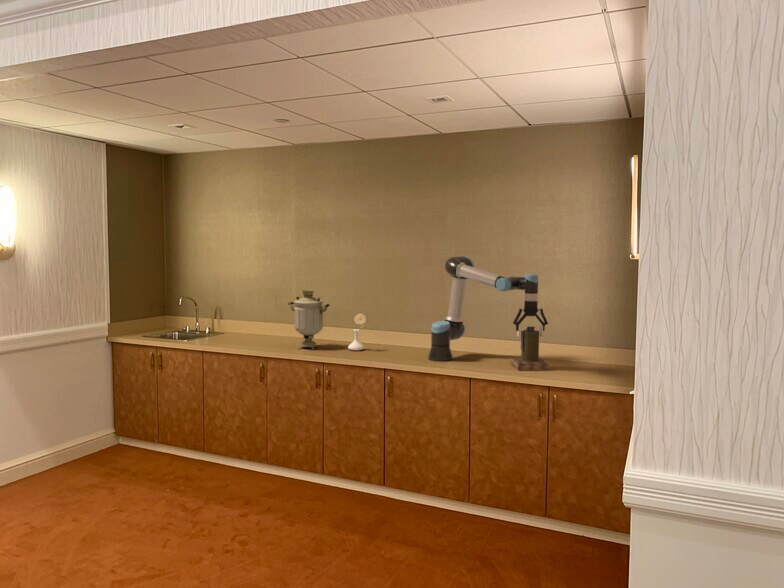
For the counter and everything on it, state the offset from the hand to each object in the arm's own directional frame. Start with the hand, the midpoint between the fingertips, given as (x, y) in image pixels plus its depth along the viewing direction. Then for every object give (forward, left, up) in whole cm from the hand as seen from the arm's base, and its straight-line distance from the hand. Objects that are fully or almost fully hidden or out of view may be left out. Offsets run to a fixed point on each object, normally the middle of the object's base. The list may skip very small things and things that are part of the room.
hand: (530, 336), depth 355 cm
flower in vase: (-103, +57, -19) cm, 119 cm away
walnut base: (0, 0, -18) cm, 18 cm away
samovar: (-135, +68, -19) cm, 152 cm away
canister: (0, 0, -15) cm, 15 cm away
